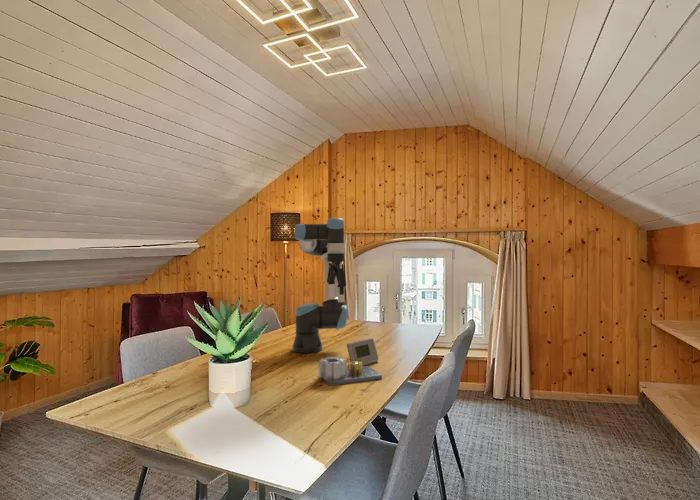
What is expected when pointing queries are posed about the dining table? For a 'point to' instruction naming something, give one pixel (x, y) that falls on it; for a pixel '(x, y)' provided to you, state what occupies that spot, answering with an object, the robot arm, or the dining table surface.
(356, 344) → the digital clock
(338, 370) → the planet gear
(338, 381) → the carrier
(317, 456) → the dining table surface
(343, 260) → the robot arm
